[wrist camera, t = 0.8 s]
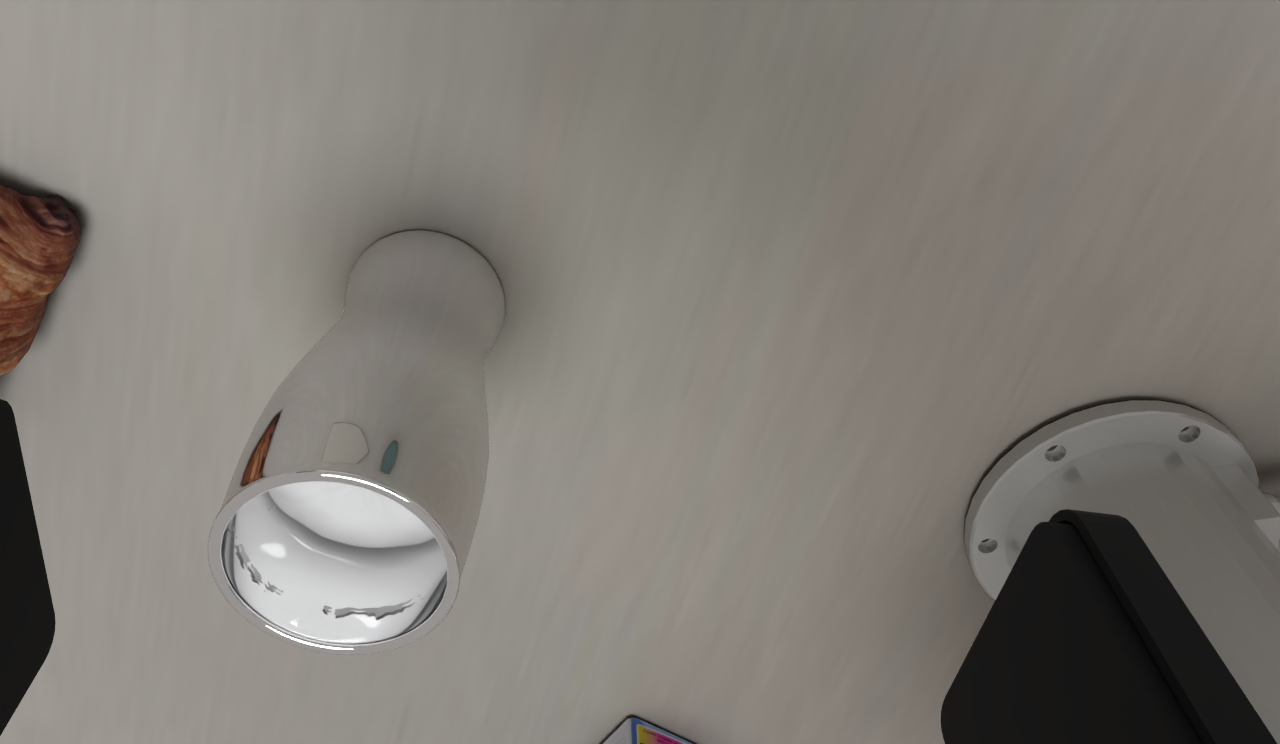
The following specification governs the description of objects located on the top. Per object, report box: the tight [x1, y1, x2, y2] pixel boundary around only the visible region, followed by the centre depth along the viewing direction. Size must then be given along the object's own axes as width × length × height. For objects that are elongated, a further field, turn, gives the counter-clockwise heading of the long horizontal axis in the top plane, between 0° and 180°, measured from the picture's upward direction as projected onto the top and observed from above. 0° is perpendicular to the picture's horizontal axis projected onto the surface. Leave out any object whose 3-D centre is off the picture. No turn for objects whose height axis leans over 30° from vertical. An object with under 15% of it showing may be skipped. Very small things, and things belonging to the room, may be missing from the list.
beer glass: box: [208, 230, 505, 655], centre depth 32 cm, size 7×7×15 cm
